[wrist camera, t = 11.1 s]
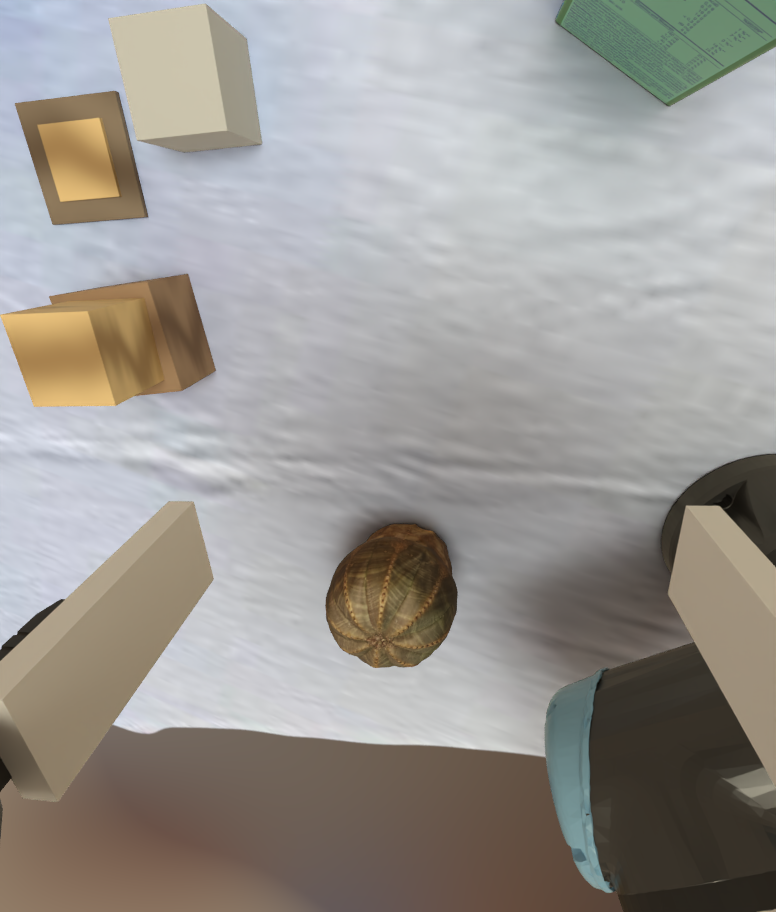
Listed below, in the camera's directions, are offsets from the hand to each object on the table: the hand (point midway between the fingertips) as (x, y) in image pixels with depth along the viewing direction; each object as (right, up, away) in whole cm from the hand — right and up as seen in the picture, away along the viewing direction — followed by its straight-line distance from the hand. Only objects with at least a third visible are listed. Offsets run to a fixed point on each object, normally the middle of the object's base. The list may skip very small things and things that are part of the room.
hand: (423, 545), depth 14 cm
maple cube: (-21, +11, +23) cm, 33 cm away
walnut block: (-20, +13, +29) cm, 38 cm away
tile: (-24, +25, +24) cm, 42 cm away
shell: (0, -7, +35) cm, 36 cm away
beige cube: (-13, +27, +21) cm, 37 cm away
